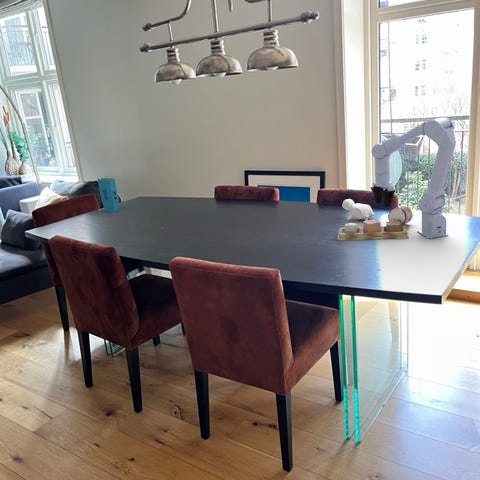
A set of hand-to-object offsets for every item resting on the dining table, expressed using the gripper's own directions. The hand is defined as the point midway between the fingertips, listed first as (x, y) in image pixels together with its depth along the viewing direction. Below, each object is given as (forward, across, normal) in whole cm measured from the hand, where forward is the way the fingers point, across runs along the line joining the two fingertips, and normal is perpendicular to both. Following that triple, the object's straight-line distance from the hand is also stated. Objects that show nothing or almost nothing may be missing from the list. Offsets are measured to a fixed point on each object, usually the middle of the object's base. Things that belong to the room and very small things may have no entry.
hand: (382, 204), depth 197 cm
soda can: (+6, 0, -10) cm, 11 cm away
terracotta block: (+9, -9, +10) cm, 16 cm away
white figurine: (+10, +17, +4) cm, 20 cm away
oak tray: (+9, -9, +10) cm, 16 cm away
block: (+10, +116, +123) cm, 169 cm away
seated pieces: (+9, -9, +10) cm, 16 cm away
